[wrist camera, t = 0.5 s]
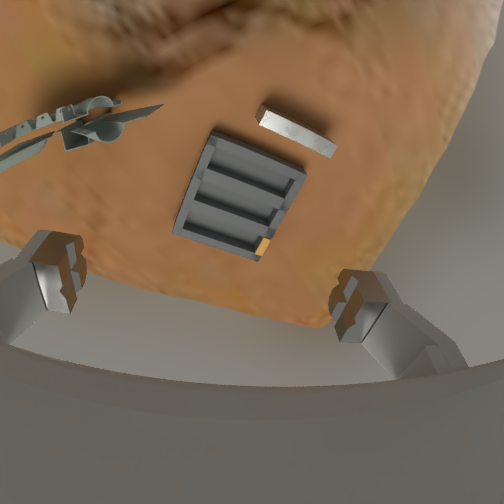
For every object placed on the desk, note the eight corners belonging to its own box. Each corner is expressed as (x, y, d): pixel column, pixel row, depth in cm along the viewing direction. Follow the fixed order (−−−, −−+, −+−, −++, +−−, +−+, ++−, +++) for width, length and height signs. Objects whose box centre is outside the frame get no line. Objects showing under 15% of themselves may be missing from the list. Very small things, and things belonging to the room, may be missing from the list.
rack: (211, 129, 46) (210, 135, 43) (302, 168, 51) (307, 176, 48) (174, 223, 56) (171, 234, 53) (256, 251, 61) (258, 262, 58)
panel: (261, 103, 44) (266, 109, 39) (324, 134, 48) (337, 145, 42) (254, 116, 46) (259, 124, 40) (317, 146, 49) (330, 158, 43)
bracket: (167, 78, 40) (129, 88, 24) (172, 119, 44) (140, 155, 28) (29, 117, 40) (-41, 154, 23) (37, 151, 44) (-27, 199, 27)
